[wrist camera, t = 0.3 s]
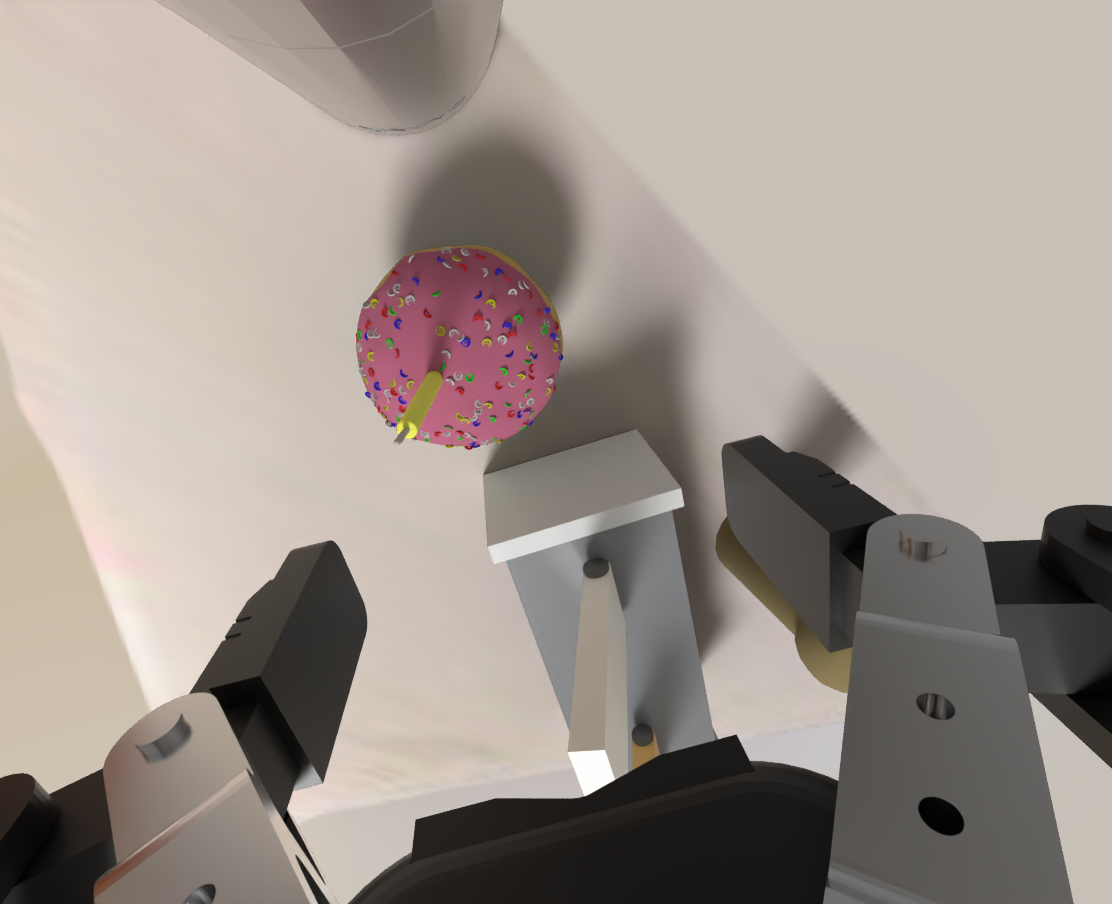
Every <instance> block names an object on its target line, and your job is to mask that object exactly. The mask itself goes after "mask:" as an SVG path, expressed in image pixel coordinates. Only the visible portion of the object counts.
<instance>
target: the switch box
mask: <svg viewBox="0 0 1112 904" xmlns="http://www.w3.org/2000/svg"><path fill="white" fill-rule="evenodd" d="M483 483H484V499H485V515H486V531H487V547H488V550H489V552H490V555H491V557H492V560H493V562H494V564H497V563H500V562H504V561H506V562H507V564H508V567H509V570H510V572H511V575H512V578H513V581H514V583H515V586H516V589H517V591H518V594H519V597H520V599H521V602H522V605H523V607H524V610H525V613H526V616H527V618H528V621H529V624H530V626H531V629H532V632H533V634H534V637H535V640H536V642H537V645H538V648H539V651H540V653H541V656H542V659H543V661H544V664H545V667H546V669H547V672H548V675H549V677H550V680H551V683H552V685H553V688H554V691H555V694H556V696H557V699H558V702H559V704H560V707H561V710H562V712H563V715H564V718H565V720H566V723H567V726H568V729H569V731H570V721H571V710H572V698H573V687H574V675H575V664H576V652H577V641H578V629H579V618H580V606H581V595H582V583H583V565H584V563H585V562H586V561H588V560H590V559H592V558H596V557H601V558H604V559H606V560H607V561H608V562H610V566H611V569H612V573H613V577H614V581H615V585H616V588H617V592H618V596H619V600H620V604H621V607H622V611H623V615H624V619H625V623H626V632H627V637H626V650H627V719H628V772H630V771H632V770H633V751H632V730H633V728H634V727H635V726H637V725H639V724H646V725H649V726H650V727H651V728H652V729H654V733H655V737H656V740H657V744H658V748H659V752H660V755H661V754H665V753H669V752H673V751H676V750H680V749H684V748H688V747H692V746H695V745H699V744H703V743H707V742H710V741H714V740H718V738H717V735H716V733H715V731H714V729H713V727H712V722H711V716H710V711H709V706H708V700H707V695H706V690H705V684H704V679H703V674H702V668H701V663H700V657H699V652H698V647H697V641H696V636H695V631H694V625H693V620H692V615H691V609H690V604H689V599H688V593H687V588H686V583H685V577H684V572H683V567H682V561H681V556H680V551H679V545H678V540H677V534H676V529H675V524H674V518H673V513H672V510H674V509H677V508H680V507H683V506H684V501H683V495H682V489H681V487H680V486H679V484H678V483H677V482H676V480H675V479H674V478H673V476H672V475H671V474H670V472H669V471H668V470H667V468H666V467H665V466H664V464H663V463H662V462H661V460H660V459H659V458H658V456H657V455H656V454H655V453H654V451H653V450H652V449H651V447H650V446H649V445H648V443H647V442H646V441H645V439H644V438H643V437H642V435H641V434H640V433H639V431H638V430H637V429H635V430H631V431H628V432H625V433H621V434H618V435H615V436H611V437H608V438H605V439H602V440H598V441H595V442H592V443H588V444H585V445H582V446H578V447H575V448H572V449H568V450H565V451H562V452H558V453H555V454H552V455H548V456H545V457H542V458H538V459H535V460H532V461H528V462H525V463H522V464H518V465H515V466H512V467H508V468H505V469H502V470H498V471H495V472H492V473H488V474H485V475H483Z"/></svg>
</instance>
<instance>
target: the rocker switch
mask: <svg viewBox="0 0 1112 904" xmlns="http://www.w3.org/2000/svg"><path fill="white" fill-rule="evenodd" d="M626 637H627V632H626V623H625V619H624V615H623V611H622V607H621V604H620V600H619V596H618V592H617V588H616V585H615V581H614V577H613V573H612V569H611V566H610V562H608V561H607V560H606V559H604V558H601V557H596V558H592V559H590V560H588V561H586V562H585V563H584V565H583V583H582V595H581V606H580V618H579V629H578V641H577V652H576V664H575V675H574V687H573V698H572V710H571V721H570V733H569V744H568V754H569V757H570V759H571V762H572V764H573V767H574V770H575V772H576V775H577V777H578V780H579V783H580V785H581V788H582V790H583V793H584V795H585V796H586V795H589V794H591V793H592V792H594V791H596V790H598V789H600V788H601V787H603V786H605V785H607V784H608V783H610V782H612V781H614V780H616V779H617V778H619V777H621V776H623V775H624V774H626V773H628V719H627V650H626Z"/></svg>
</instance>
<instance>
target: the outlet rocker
mask: <svg viewBox="0 0 1112 904" xmlns="http://www.w3.org/2000/svg"><path fill="white" fill-rule="evenodd" d="M632 751H633V769H635V768H637V767H639V766H640V765H642V764H644V763H646V762H648V761H649V760H651V759H653V758H655V757H657V756H658V755H660V752H659V748H658V744H657V740H656V737H655V733H654V729H652V728H651V727H650V726H649V725H646V724H639V725H637V726H635V727H634V728H633V730H632Z"/></svg>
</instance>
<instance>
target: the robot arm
mask: <svg viewBox="0 0 1112 904" xmlns="http://www.w3.org/2000/svg"><path fill="white" fill-rule="evenodd" d="M155 1H156V2H158V3H159V4H161V5H162V6H164V7H166V8H167V9H170V10H171V11H173V12H174V13H176V14H177V15H179V16H180V17H182V18H183V19H185V20H187V21H188V22H190V23H191V24H193V25H194V26H196V27H197V28H199V29H200V30H202V31H203V32H205V33H206V34H208V35H209V36H211V37H212V38H214V39H215V40H217V41H218V42H220V43H221V44H223V45H224V46H226V47H227V48H229V49H230V50H232V51H233V52H235V53H237V54H238V55H240V56H241V57H243V58H244V59H246V60H247V61H249V62H250V63H252V64H253V65H255V66H256V67H258V68H259V69H261V70H262V71H264V72H265V73H267V74H268V75H270V76H271V77H273V78H274V79H276V80H277V81H279V82H280V83H282V84H284V85H285V86H287V87H288V88H290V89H291V90H293V91H294V92H296V93H297V94H299V95H300V96H301V97H303V98H304V99H306V100H308V101H309V102H311V103H312V104H314V105H315V106H317V107H318V108H320V109H321V110H323V111H324V112H326V113H328V114H329V115H331V116H333V117H335V118H337V119H338V120H340V121H342V122H344V123H345V124H347V125H349V126H352V127H355V128H358V129H361V130H364V131H367V132H370V133H373V134H383V135H395V136H400V135H406V134H413V133H419V132H423V131H425V130H427V129H430V128H432V127H435V126H437V125H439V124H442V123H443V122H444V121H446V120H447V119H448V118H450V117H451V116H452V115H454V114H455V113H456V112H458V111H459V110H460V109H461V108H462V107H463V106H464V105H465V103H466V102H467V101H468V100H469V99H470V97H471V96H472V95H473V94H474V93H475V91H476V90H477V88H478V86H479V84H480V82H481V80H482V78H483V76H484V74H485V72H486V70H487V68H488V66H489V62H490V58H491V55H492V51H493V48H494V44H495V41H496V35H497V30H498V24H499V19H500V15H501V9H502V4H503V0H155ZM722 465H723V476H724V487H725V498H726V509H727V515H728V520H729V523H730V526H731V529H732V531H733V533H734V535H735V537H736V538H737V540H738V541H739V542H740V544H741V545H742V546H743V547H744V549H745V550H746V551H747V552H748V553H749V555H750V556H751V557H752V558H753V560H754V561H755V562H756V563H757V564H758V566H759V567H760V568H761V569H762V571H763V572H764V573H765V574H766V576H767V577H768V578H769V579H770V580H771V582H772V583H773V584H774V585H775V587H776V588H777V589H778V590H779V592H780V593H781V594H782V595H783V596H784V598H785V599H786V600H787V601H788V603H789V604H790V605H791V606H792V608H793V609H794V610H795V611H796V612H797V614H798V615H799V616H800V617H801V619H802V620H803V621H804V622H805V623H806V625H807V626H808V627H809V628H810V630H811V631H812V632H813V633H814V635H815V636H816V637H817V638H818V639H819V641H820V642H821V643H822V644H823V646H824V647H825V648H826V649H827V651H828V652H829V653H832V652H836V651H840V650H843V649H847V648H851V647H853V648H852V658H851V667H850V677H849V686H848V696H847V705H846V715H845V724H844V733H843V743H842V753H841V763H840V771H839V781H837V780H835V779H832V778H830V777H828V776H825V775H822V774H819V773H816V772H813V771H811V770H807V769H804V768H800V767H796V766H791V765H787V764H782V763H773V762H765V761H749V759H748V757H747V755H746V753H745V751H744V749H743V747H742V745H741V743H740V741H739V739H738V737H737V735H733V736H729V737H726V738H722V739H718V740H714V741H710V742H707V743H703V744H699V745H695V746H692V747H688V748H684V749H680V750H676V751H673V752H669V753H665V754H661V755H658V756H657V757H655V758H653V759H651V760H649V761H648V762H646V763H644V764H642V765H640V766H639V767H637V768H635V769H633V770H632V771H630V772H628V773H626V774H624V775H623V776H621V777H619V778H617V779H616V780H614V781H612V782H610V783H608V784H607V785H605V786H603V787H601V788H600V789H598V790H596V791H594V792H592V793H591V794H589V795H586V796H584V797H580V798H573V799H531V798H529V799H524V798H521V799H520V798H516V799H515V798H511V799H510V798H506V799H505V798H504V799H503V798H502V799H501V798H495V799H492V800H488V801H485V802H480V803H477V804H473V805H469V806H465V807H461V808H458V809H454V810H450V811H446V812H443V813H439V814H435V815H431V816H428V817H424V818H420V819H416V821H415V831H414V840H413V848H412V852H411V853H410V854H408V855H406V856H404V857H403V858H401V859H400V860H398V861H397V862H395V863H394V864H393V865H391V866H390V867H388V868H387V869H386V870H384V871H383V872H382V873H380V874H379V875H378V876H377V877H376V878H375V879H373V880H372V881H371V882H370V883H369V884H368V885H366V886H365V887H364V888H363V889H362V890H361V891H360V892H359V893H358V894H357V895H356V896H355V897H354V898H353V899H352V900H351V901H350V902H349V903H348V904H1074V903H1073V899H1072V893H1071V889H1070V884H1069V879H1068V875H1067V870H1066V866H1065V861H1064V856H1063V851H1062V847H1061V842H1060V838H1059V833H1058V828H1057V824H1056V819H1055V814H1054V810H1053V805H1052V800H1051V796H1050V791H1049V786H1048V782H1047V777H1046V772H1045V768H1044V763H1043V758H1042V754H1041V749H1040V745H1039V740H1038V736H1037V731H1036V726H1035V721H1034V717H1033V712H1032V707H1031V703H1030V698H1029V693H1031V694H1032V695H1033V696H1034V697H1035V698H1036V699H1037V700H1038V701H1039V702H1041V703H1042V704H1043V705H1044V706H1045V707H1046V708H1047V709H1048V710H1049V711H1050V712H1051V713H1052V714H1053V715H1055V716H1056V717H1057V718H1058V719H1059V720H1060V721H1061V722H1062V723H1063V724H1064V725H1065V726H1066V727H1067V728H1069V729H1070V730H1071V731H1072V732H1073V733H1074V734H1075V735H1076V736H1077V737H1079V739H1080V740H1082V741H1083V742H1084V743H1085V744H1086V745H1087V746H1088V747H1089V748H1090V749H1091V750H1092V751H1093V752H1095V753H1096V754H1097V755H1098V756H1099V757H1100V758H1101V759H1102V760H1103V761H1104V762H1105V763H1106V764H1107V765H1109V766H1110V767H1111V768H1112V506H1103V505H1074V506H1068V507H1064V508H1060V509H1057V510H1055V511H1053V512H1051V513H1050V514H1048V515H1047V517H1046V518H1045V522H1044V526H1043V532H1042V537H1041V540H1022V541H1021V540H1020V541H995V542H982V541H981V539H980V538H979V536H977V535H976V534H975V533H974V532H973V531H971V530H970V529H968V528H967V527H965V526H963V525H961V524H959V523H956V522H954V521H951V520H948V519H944V518H941V517H936V516H931V515H923V514H902V515H897V514H896V513H894V512H893V511H891V510H890V509H889V508H887V507H886V506H884V505H883V504H881V503H880V502H879V501H877V500H876V499H874V498H873V497H871V496H870V495H868V494H867V493H866V492H864V491H863V490H861V489H860V488H858V487H857V486H855V485H854V484H850V481H848V480H847V479H845V478H844V477H842V476H841V475H840V474H836V473H835V471H834V470H832V469H831V468H829V467H828V466H827V465H825V464H824V463H822V462H821V461H819V460H818V459H815V458H812V457H809V456H805V455H802V454H799V453H796V452H789V453H785V452H784V451H783V450H781V449H780V448H779V447H777V446H776V445H775V444H773V443H772V442H771V441H769V440H768V439H767V438H765V437H764V436H761V435H759V436H755V437H751V438H747V439H743V440H739V441H735V442H731V443H727V444H724V446H723V448H722ZM366 631H367V614H366V609H365V605H364V602H363V599H362V597H361V595H360V593H359V590H358V588H357V586H356V584H355V581H354V579H353V577H352V575H351V572H350V570H349V568H348V566H347V564H346V561H345V559H344V557H343V555H342V552H341V550H340V548H339V547H338V545H337V544H336V543H335V542H334V541H326V542H322V543H317V544H313V545H309V546H305V547H301V548H297V549H294V550H292V551H291V552H290V553H289V554H288V556H287V558H286V559H285V561H284V563H283V564H282V566H281V568H280V569H279V571H278V573H277V575H276V576H275V578H274V579H273V580H269V581H268V582H267V583H266V584H265V585H264V586H263V587H262V588H261V589H260V590H259V591H258V592H256V593H255V594H254V595H253V596H252V597H251V598H250V599H249V600H248V601H247V603H246V604H245V606H244V608H243V609H242V611H241V612H240V614H239V615H238V617H237V619H236V623H235V624H233V625H232V627H231V628H230V630H229V631H228V633H227V635H226V636H225V638H226V640H225V641H222V643H221V644H220V646H219V647H218V649H217V650H216V652H215V654H214V655H213V657H212V658H211V660H210V662H209V663H208V665H207V666H206V668H205V670H204V671H203V673H202V674H201V676H200V677H199V679H198V681H197V682H196V684H195V685H194V687H193V689H192V690H191V692H190V693H189V694H188V695H185V696H182V697H179V698H176V699H174V700H172V701H170V702H168V703H165V704H164V705H162V706H160V707H158V708H157V709H155V710H153V711H152V712H150V713H149V714H147V715H146V716H145V717H143V718H142V719H141V720H139V721H138V722H137V723H136V724H134V725H133V726H132V727H131V728H130V729H129V730H128V731H127V732H126V733H125V734H124V735H123V736H122V737H121V738H120V739H119V740H118V742H117V743H116V744H115V745H114V747H113V748H112V749H111V751H110V752H109V754H108V756H107V758H106V760H105V763H104V767H103V769H101V770H99V771H97V772H95V773H92V774H90V775H88V776H86V777H84V778H82V779H80V780H78V781H76V782H74V783H72V784H69V785H67V786H65V787H63V788H61V789H59V790H57V791H55V792H53V793H51V794H48V793H47V792H46V791H45V790H44V789H43V787H42V786H41V785H40V784H39V783H38V782H37V781H36V780H35V779H34V778H33V777H32V776H31V775H29V774H24V773H22V774H21V773H20V774H13V775H9V776H5V777H2V778H0V904H339V902H338V901H337V899H336V897H335V895H334V893H333V891H332V890H331V888H330V886H329V884H328V882H327V880H326V878H325V876H324V875H323V872H322V870H321V869H320V867H319V865H318V863H317V861H316V859H315V857H314V855H313V853H312V852H311V850H310V848H309V846H308V844H307V842H306V840H305V839H304V837H303V835H302V833H301V831H300V829H299V827H298V825H297V823H296V821H295V820H294V818H293V816H292V815H291V813H290V812H289V810H288V809H287V807H288V804H289V801H290V798H291V795H292V792H293V791H296V790H300V789H304V788H308V787H311V786H315V785H319V784H323V782H324V778H325V775H326V771H327V768H328V764H329V761H330V757H331V754H332V750H333V747H334V743H335V740H336V736H337V733H338V729H339V726H340V722H341V719H342V716H343V712H344V709H345V705H346V702H347V698H348V695H349V691H350V688H351V684H352V681H353V677H354V674H355V670H356V667H357V663H358V660H359V656H360V653H361V649H362V646H363V642H364V639H365V636H366Z"/></svg>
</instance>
